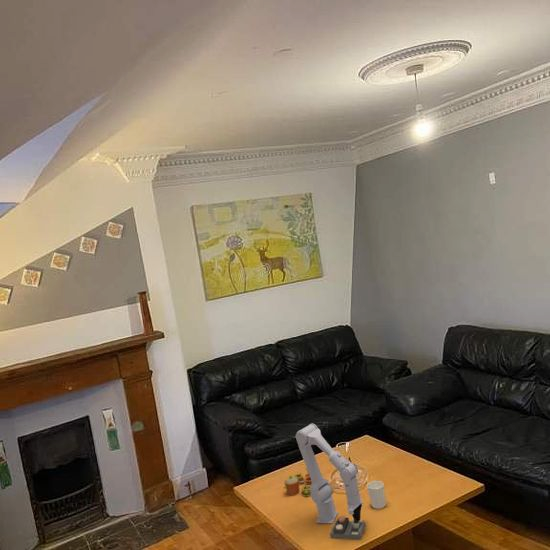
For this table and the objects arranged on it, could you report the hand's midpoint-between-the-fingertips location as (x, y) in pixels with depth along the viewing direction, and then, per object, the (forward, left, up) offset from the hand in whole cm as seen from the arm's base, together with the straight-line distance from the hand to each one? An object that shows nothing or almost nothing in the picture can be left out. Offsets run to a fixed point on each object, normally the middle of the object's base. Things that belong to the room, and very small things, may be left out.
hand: (357, 521), depth 232 cm
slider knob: (+3, 0, -1) cm, 3 cm away
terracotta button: (0, -7, -1) cm, 7 cm away
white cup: (-20, +5, -4) cm, 21 cm away
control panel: (+2, -4, -4) cm, 6 cm away
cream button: (+5, -7, -1) cm, 9 cm away
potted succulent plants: (-38, -39, -4) cm, 54 cm away
